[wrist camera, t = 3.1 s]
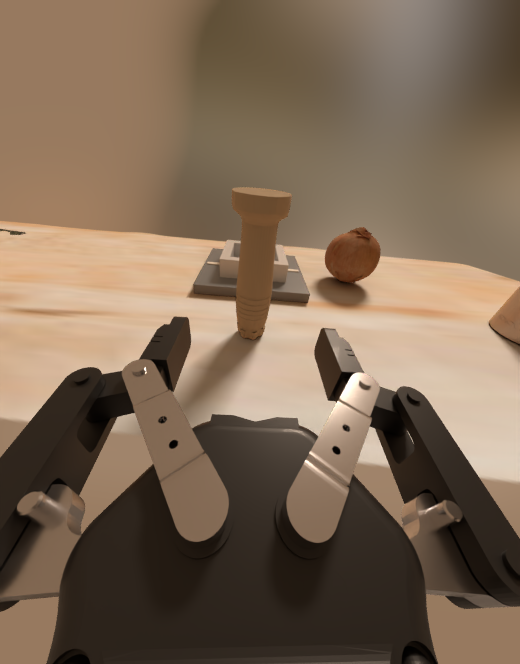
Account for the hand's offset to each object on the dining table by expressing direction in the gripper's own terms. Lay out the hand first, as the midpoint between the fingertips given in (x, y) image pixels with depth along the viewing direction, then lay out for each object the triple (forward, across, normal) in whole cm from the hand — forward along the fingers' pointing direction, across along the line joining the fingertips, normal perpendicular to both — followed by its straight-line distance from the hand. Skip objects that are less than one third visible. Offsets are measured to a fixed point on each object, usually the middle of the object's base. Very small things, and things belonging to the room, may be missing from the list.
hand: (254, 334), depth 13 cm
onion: (+30, -18, +9) cm, 36 cm away
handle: (+11, 0, +9) cm, 14 cm away
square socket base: (+29, 0, +8) cm, 30 cm away
